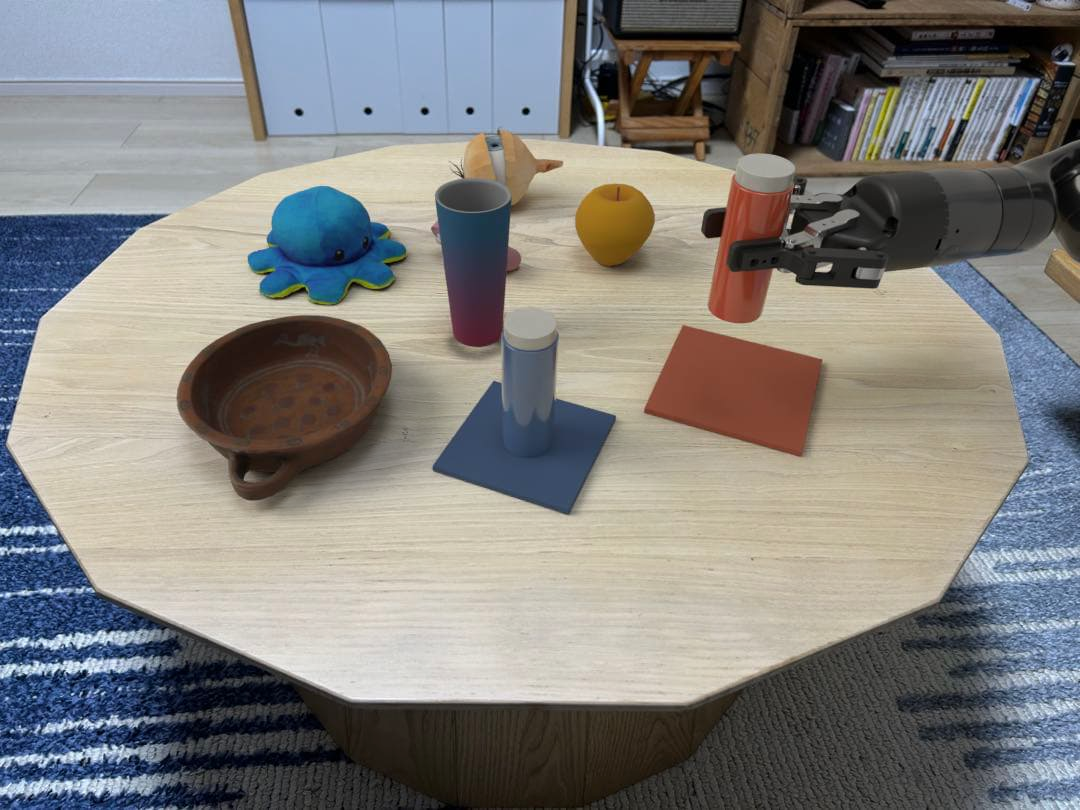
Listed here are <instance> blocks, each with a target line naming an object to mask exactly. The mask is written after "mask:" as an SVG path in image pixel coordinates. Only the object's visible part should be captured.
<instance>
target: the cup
mask: <svg viewBox="0 0 1080 810" xmlns="http://www.w3.org/2000/svg"><path fill="white" fill-rule="evenodd" d="M511 198H512V195H511V191H510V190H509V188H507V187H506V186H505V185H503V184H502V183H499V182H497V181H494V180H490V179H484V178H463V179H462V178H457V179H453V180H451V181H447V182H445V183H443V184H442V185H440V186H439V187H438V188H437V189H436V191H435V193H434V202H435V208H436V217H437V221H438V225H439V232H440V239H441V246H440V247H441V254H442V261H443V268H444V275H445V282H446V283H445V284H446V290H447V298H448V299H447V300H448V305H449V306H448V307H449V313H450V322H451V329H452V334H453V337H454V338H455V339H456V341H458V342H459V343H461V344H463V345H466V346H469V347H486V346H489V345H492V344H494V343H496V342H497V341H499V339H501V334H502V331H503V329H504V317H505V316H504V314H505V303H506V302H505V301H506V286H507V272H508V271H507V257H508V246H509V243H510V241H509V240H510V229H511V228H510V227H511V214H512V213H511V212H512V206H511Z"/></svg>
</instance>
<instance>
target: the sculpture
mask: <svg viewBox="0 0 1080 810" xmlns="http://www.w3.org/2000/svg"><path fill="white" fill-rule="evenodd" d="M501 128H503V126H502V125H501V126H499V127H498V128H497V131H496V134H493V135H492V134H491V135H488V136H486V134H485V132H484V131H483V132H481V133H479V134H477V135H475V136H474V137H473V138H472V139H471V140H470V141H469V143H468V144H467V145H466V148H465V150H464V153H463V158H461V160H460V168H459V167H458V166H457V165H456V164H455V163H453V162H452V161H449V163H450V164H452V165H453V166H454V167H455V168H456V169H457V170H458V171H456V170H455V171H454V170H453V169H452V168H451V166H450V165H449V169H450V171H451V174H452V173H454V174H455V175H456V176H458V177H460V179H463V178H484V179H490V180H494V181H497V182H499V183H502V184H503V185H505V186H506V187H507V188H509V190H510V191H511V195H512V198H511V207H512V206H515V205H517V203H518V202H519V201H521V199H522V198H523V197H524V195H525V194H526V192H528V189H529V187H530V185H531V182H532V181H533V180H534V177H535V176H536V175H537V174H539V173H540V174H545V173H549V172H551V171H554V170H556V169H559V168H561V167H563V166H564V162H565V161H564V160H558V159H547V158H536V157H535V156H534V155H533V153H532V152H531V151H530V149H529V148H528V146H527V145H526V144H525V142H524V141H523V140H522V138H520V137H519V136H518V135H516V134H515V133H513V132H511V131H509V130H503V129H501ZM462 160H463V164H462Z"/></svg>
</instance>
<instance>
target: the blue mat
mask: <svg viewBox="0 0 1080 810" xmlns="http://www.w3.org/2000/svg"><path fill="white" fill-rule="evenodd" d="M616 420H617V415H616V414H612V413H609V412H605V411H602V410H598V409H595V408H591V407H588V406H584V405H581V404H578V403H574V402H571V401H566V400H563V399H560V398H556V405H555V424H554V442H553V445H552V447H551V448H550V449H549V451H547V452H546V453H544V454H543V455H540V456H537V457H530V458H527V457H520V456H516V455H514V454H512V453H510V452H509V451H508V450H507V449H506V448H505V447H504V445H503V442H502V382H500V381H496V380H493V381H492V382H491V383H490V385H489V386H488V388H487V389H486V391H485V392H484V393H483V394H482V396H481V398H480V399H479V400H478V402H477V403H476V405H475V406H474V407H473V409H472V410H471V411H470V413H469V414H468V416H467V417H466V419H465V420H464V421H463V423H462V424H461V425H460V426H459V428H458V430H457V431H456V432H455V434H454V435H453V436H452V438H451V439H450V441H449V442H448V443H447V445H446V446H445V448H444V449H443V450H442V452H441V453H440V454H439V455H438V457H437V459H436V460H435V461H434V463H433V464H432V471H434V472H436V473H440V474H442V475H446V476H449V477H452V478H455V479H458V480H461V481H464V482H467V483H470V484H472V485H476V486H478V487H482V488H486V489H489V490H491V491H494V492H497V493H501V494H503V495H506V496H510V497H513V498H516V499H519V500H522V501H525V502H528V503H530V504H531V503H532V504H534V505H537V506H540V507H544V508H547V509H550V510H553V511H556V512H559V513H561V514H565V515H570V513H571V511H572V509H573V507H574V505H575V503H576V501H577V499H578V497H579V495H580V494H581V491H582V490H583V487H584V485H585V483H586V481H587V479H588V477H589V475H590V473H591V471H592V469H593V467H594V465H595V463H596V461H597V459H598V457H599V455H600V453H601V451H602V449H603V446H604V444H605V442H606V440H607V439H608V436H609V434H610V433H611V431H612V429H613V427H614V425H615V423H616Z"/></svg>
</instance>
